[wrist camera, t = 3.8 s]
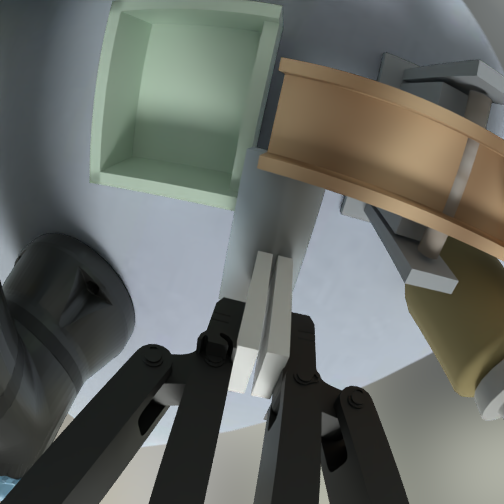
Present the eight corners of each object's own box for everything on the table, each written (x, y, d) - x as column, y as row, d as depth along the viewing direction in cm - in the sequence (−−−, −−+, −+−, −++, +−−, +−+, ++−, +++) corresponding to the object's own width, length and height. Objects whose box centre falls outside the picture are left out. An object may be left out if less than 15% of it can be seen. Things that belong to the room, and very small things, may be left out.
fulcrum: (340, 211, 21) (371, 289, 13) (383, 53, 15) (453, 28, 7) (409, 231, 21) (464, 309, 13) (455, 86, 15) (544, 96, 7)
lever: (240, 269, 21) (204, 317, 17) (291, 43, 14) (261, 13, 9) (471, 347, 18) (486, 403, 13) (561, 164, 10) (612, 188, 6)
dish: (125, 163, 21) (89, 182, 17) (147, 16, 15) (112, 0, 11) (248, 186, 21) (237, 211, 17) (283, 27, 15) (282, 5, 11)
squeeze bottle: (431, 194, 19) (592, 383, 4) (486, 242, 21) (601, 399, 5) (372, 275, 23) (438, 496, 8) (432, 308, 24) (500, 481, 9)
